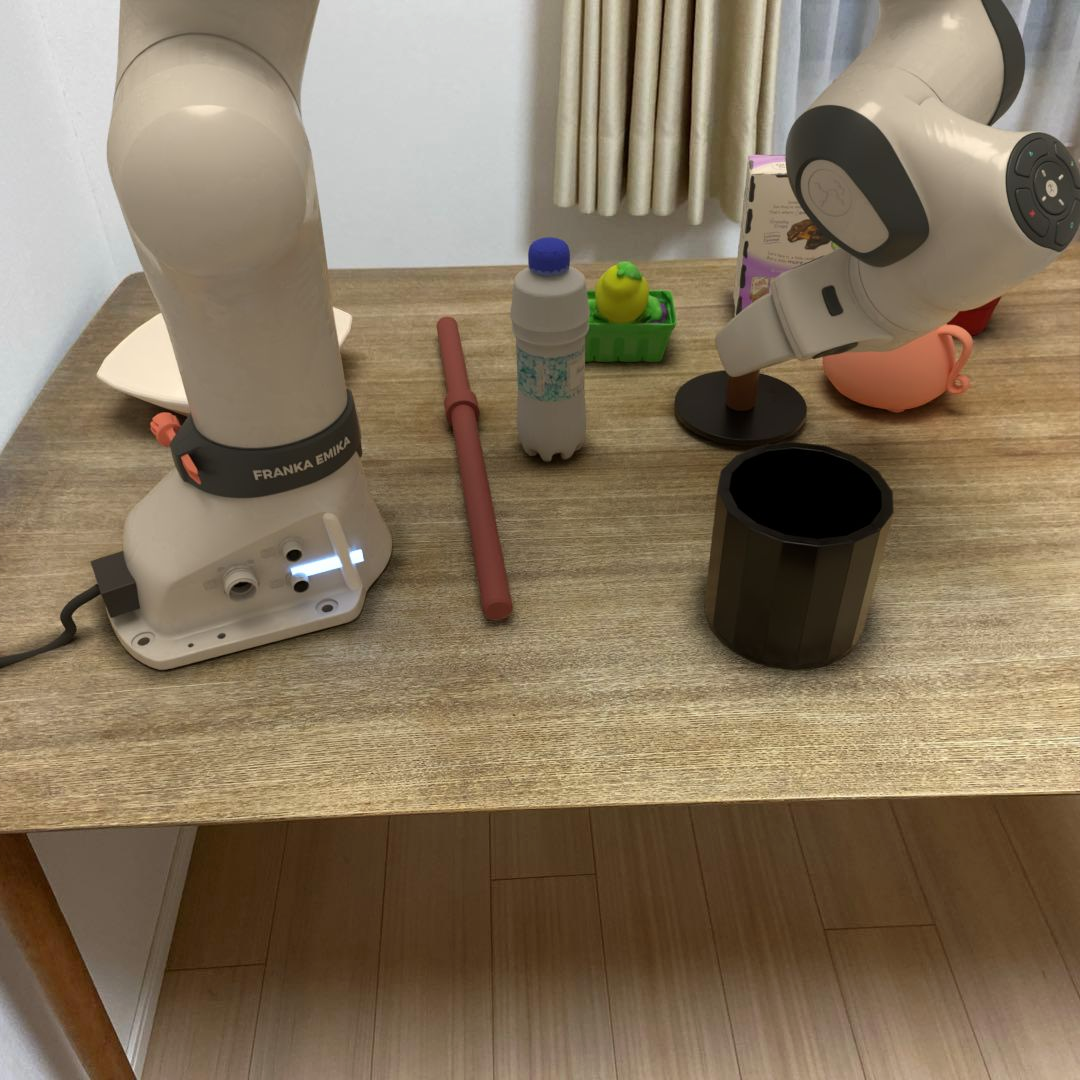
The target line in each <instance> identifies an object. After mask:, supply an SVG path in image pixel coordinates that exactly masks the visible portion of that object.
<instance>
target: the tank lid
mask: <svg viewBox="0 0 1080 1080" xmlns="http://www.w3.org/2000/svg"><path fill="white" fill-rule="evenodd" d="M673 407H674V412H675V415H676V417H677V418H678V420H679V422H681V424H682V425H684V426H685V427H686V428H687V429H688V430H690V431H692V432H693V433H694V434H697V435H699V436H701V437H703V438H705V439H707V440H712V441H714V442H717V443H722V444H728V445H736V446H762V445H767V444H773V443H776V442H777V443H778V442H780V441H782V440H785V439H787V438H789V437H791V436H793V435H794V434H796V433H797V432H798V431H799V430H800V429H801V427H803V425H804V423H805V421H806V418H807V411H808V409H807V408H808V407H807V403H806V400H805V398H804V397H803V395H802V394H801V392H799V391H798V390H797V389H796V388H795V387H793V386H792V385H791V384H789V383H787V382H785V381H784V380H782V379H779V378H778V377H775V376H772V375H768V374H766V373H761V369H760V370H757V371H754V372H751V373H748V374H745V375H742V376H739V377H731V376H729V375H728V374H727V372H726V371H725V370H717V371H711V372H706V373H703V374H700V375H697V376H695V377H693V378H691V379H690V380H687V381H686V382H685V383H683V384H682V386H680V387H679V388H678V390H677V392H676V394H675V396H674V404H673Z"/></svg>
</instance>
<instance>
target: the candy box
mask: <svg viewBox="0 0 1080 1080" xmlns="http://www.w3.org/2000/svg"><path fill="white" fill-rule="evenodd" d="M737 247H738V249H737V259H736V267H735V268H736V269H735V276H734V285H733V295H732V297H733V299H732V300H733V309H734V310H733V312H734V313H733V314H734V317H735V316H736V315H738V314H739V313H740V312H741V311H742V310H744V309H745V308H746V307H747V306H749V305H750V304H751V303H753V302H754V301H756V300H757V299H759V298H761V297H762V296H764V295H766V294H768V293H770V292H771V288H770V283H771V281H772V280H773V279H775V278H776V277H777V276H779V275H780V274H782V273H784V272H786V271H789V270H791V269H793V268H795V267H797V266H800V265H802V264H805V263H807V262H809V261H812V260H814V259H816V258H818V257H821V256H823V255H824V256H825V255H827V254H829V253H831V252H832V251H833V250H835V249H836V248H837V247H839V246H838V245H836V244H835V243H833V242H832V241H831V240H830V239H828V238H827V237H826V236H825V235H824V234H823V233H822V232H821V231H820V230H819V229H818V228H817V227H816V226H815V225H814V223H813V222H812V221H811V220H810V219H809V217H808V216H807V215H806V213H805V212H804V211H803V209H802V208H801V206H800V205H799V203H798V201H797V199H796V197H795V196H794V193H793V191H792V189H791V186H790V183H789V180H788V175H787V170H786V162H785V154H749V155H748V156H747V164H746V176H745V185H744V192H743V201H742V212H741V222H740V231H739V240H738V246H737Z"/></svg>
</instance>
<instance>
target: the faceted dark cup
mask: <svg viewBox="0 0 1080 1080" xmlns="http://www.w3.org/2000/svg"><path fill="white" fill-rule="evenodd" d="M894 509H895V507H894V492H893V490H892V488H891V487H890V486H889V484H888V482H887V481H886V480H885V479H884V477H883V476H882V474H881V473H880V472H879V470H877V469H876V468H874V467H873V466H871V465H870V464H868V463H867V462H865V461H864V460H862V459H861V458H859V457H858V456H856V455H854V454H851V453H848V452H846V451H842V450H840V449H837V448H833V447H830V446H828V445H823V444H817V443H815V444H814V443H808V442H807V443H806V442H799V441H796V442H795V441H786V442H777V443H776V442H775V443H768V444H761V445H757V446H756V447H753V448H751V449H748V450H746V451H743V452H740V453H738V454H736V455H734V457H733V458H732V459H731V460H730V461H728V463H727V464H726V465H725V466H724V467H723V468H722V469H721V470H720V473H719V479H718V484H717V490H716V497H715V506H714V517H713V523H712V524H713V525H712V532H711V533H712V535H711V543H710V550H709V551H710V552H709V560H708V570H707V577H706V579H707V580H706V585H705V595H704V603H703V607H704V614H705V617H706V620H707V624H708V625H709V627H710V629H711V631H712V632H713V633H714V635H715V636H716V637H717V638H718V639H719V641H720V642H722V644H724V645H725V646H726V647H727V648H728V649H730V650H731V651H733V652H734V653H736V654H737V655H739V656H741V657H743V658H744V659H747V660H749V661H752V662H754V663H756V664H760V665H764V666H766V667H772V668H776V669H784V670H809V669H810V670H811V669H814V668H821V667H824V666H827V665H830V664H832V663H834V662H837V661H839V660H840V659H842V658H843V657H846V655H847V654H849V653H850V652H851V651H852V650H853V649H854V647H855V646H856V645H857V644H858V641H859V640H860V638H861V635H862V633H863V632H864V629H865V627H866V623H867V619H868V614H869V610H870V606H871V602H872V598H873V595H874V590H875V586H876V583H877V579H878V575H879V571H880V568H881V563H882V559H883V557H884V551H885V547H886V544H887V541H888V536H889V533H890V529H891V525H892V520H893V516H894V512H895V510H894Z"/></svg>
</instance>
